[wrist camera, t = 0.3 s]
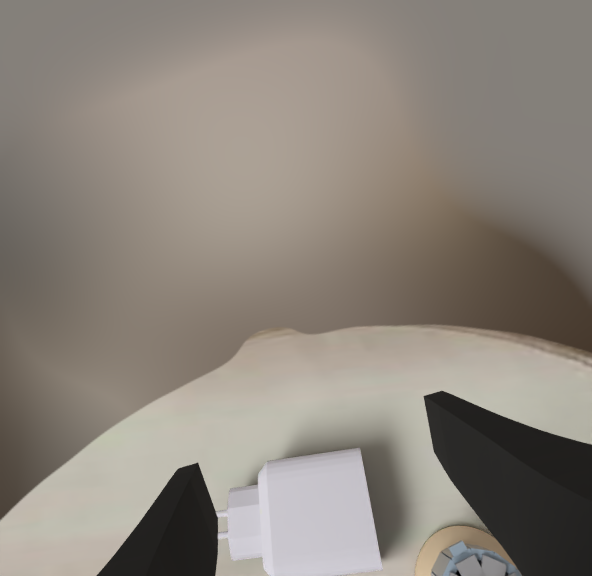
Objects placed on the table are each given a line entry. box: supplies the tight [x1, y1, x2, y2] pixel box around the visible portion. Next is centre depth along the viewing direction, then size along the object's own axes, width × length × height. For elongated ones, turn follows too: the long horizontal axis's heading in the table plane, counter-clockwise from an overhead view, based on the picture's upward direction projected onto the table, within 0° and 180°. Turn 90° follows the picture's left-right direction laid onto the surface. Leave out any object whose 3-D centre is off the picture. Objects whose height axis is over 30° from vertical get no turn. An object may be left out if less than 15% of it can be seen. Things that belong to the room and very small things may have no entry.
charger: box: [215, 448, 383, 576], centre depth 35 cm, size 5×9×15 cm
